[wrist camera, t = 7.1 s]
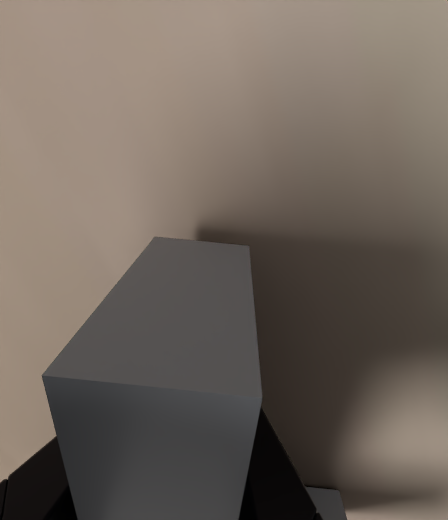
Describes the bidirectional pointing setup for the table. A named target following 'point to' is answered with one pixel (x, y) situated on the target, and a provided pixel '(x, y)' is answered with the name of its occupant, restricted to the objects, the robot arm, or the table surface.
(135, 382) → the grey piece
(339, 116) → the table surface
